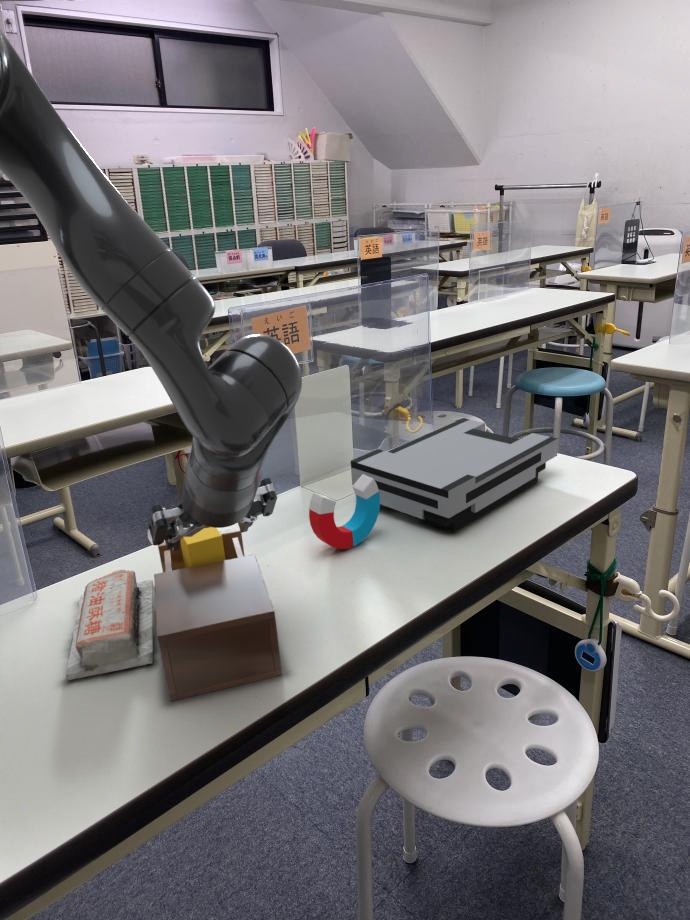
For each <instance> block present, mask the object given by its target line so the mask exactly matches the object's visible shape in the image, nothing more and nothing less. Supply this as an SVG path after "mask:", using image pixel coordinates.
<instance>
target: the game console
mask: <svg viewBox="0 0 690 920" xmlns="http://www.w3.org/2000/svg"><path fill="white" fill-rule="evenodd" d="M558 445H559V438H557V437H553V436H548V435H544V434H539V433H535V432H532V433H529V434H527V435H525V436H524V437H522V438H517V437H512V436H507V435H503V434H499V433H494V432H489V431H486V422H483V421H478V420H474V419H470V418H465V417H463V418H460V419H458V420H456V421H453V422H451V423H449V424H446V425H445V426H443V427H440V428H438V429H436V430H433V431H431V432H429V433H426V434H424V435H422V436H419V437H417V438H415V439H413V440H410V441H408V442H405V443H404V444H400V445H399V446H396V447H393V448H391V449H390V450H387V451H386V450H382V449H379V448H377V449H375V450H372V451H370V452H368V453H365V454H363V455H361V456H359V457H356V458H353V459H351V460H350V473H351V475H350V476H351V486H353V485H354V484H355V483H356V481H357V480H358V479H359V478H360V477H361V475H362V474H364V475H366V476H368V477H371V478H373V479H374V480H375V482H376V484H377V487H378V490H379V495H380V508H384V509H386V510H389V511H393V510H396V511H398V512H400V513H403V514H407V515H409V516H412V517H414V518H418V519H421V520H423V521H424V523H425V524H429V525H431V526H434V527H436V528H439V529H443V530H445V531H448V532H450V533H453V534H454V533H456V532H457V531H459V530H461V529H463V528H464V527H466V526H468V525H470V524H471V523H472V522H475V521H476V520H478V519H479V518H481V517H483V516H484V515H486V514H487V513H489V512H491V511H493V510H494V509H496V508H497V507H499V506H501V505H503V504H504V503H506V502H508V501H509V500H510V499H512V498H514V497H516V496H517V495H519V494H521V493H522V492H524V491H526V490H527V489H529V488H530V487H532V486H534V485H535V484H537V483H538V482H539V473H541V472H542V471H544V470H545V469H546V467H547V462H549V461H550V460H552V459H554V458H556V457H557V456H558Z"/></svg>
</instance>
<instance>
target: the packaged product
mask: <svg viewBox="0 0 690 920" xmlns="http://www.w3.org/2000/svg"><path fill="white" fill-rule="evenodd" d="M155 617H156V611H155V584H154V579H148V580H143V581H140V582H137V577H136V572H135V571H134V570H126V569H119V570H115V571H112V572H111V573H108V574H106V575H104V576H101V577H99V578H96V579H94V580H91V581H89V582H88V583H87V584H86V586H85V587H84V591H83V594H80V599H79V602H78V608H77V615H76V619H75V624H74V629H73V634H72V639H73V640H72V641H71V645H70V649H69V650H70V651H69V657H68V662H67V667H66V671H65V679H67V680H68V681H71V680H76V679H82V678H86V677H91V676H96V675H101V674H107V673H111V672H117V671H122V670H126V669H127V670H128V669H131V668H137V667H140V666H146V665H150V664H153V658H154V637H155V636H154V635H155V624H156V623H155V619H156V618H155Z"/></svg>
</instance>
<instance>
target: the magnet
mask: <svg viewBox="0 0 690 920" xmlns="http://www.w3.org/2000/svg"><path fill="white" fill-rule="evenodd" d="M351 487H352V490H353V492H354V494H355V503H356V504H355V508H354V511H353V513H352V516H351V518H349V520H348V521H346V522H345V523H344V524H343V525H340V526H337V525H336V522H335V509H336V504H337V501H336V500H335V499H332V498H330V497H329V496H327V495H323V494H320V493H318V492H312V495H311V498H310V501H309V508H308V519H309V525H310V527H311V530H312V532H313V534H314V535H315V537H316V538H317V539H318V540H319V541H321V542H322V543H324V544H326V545H328V546H330V547H331V548H334V549H337V550H347V549H351V548H354V547H356V546H357V545H360V544H361V543H362V542H363V541H364V540H365V539H367V537H368V536H369V535H370V534H371V532H372V531H373V529H374V527H375V525H376V523H377V521H378V517H379V514H380V509H381V506H380V495H379V490H378V487H377V484H376V482H375V480H374V479H373V478H371V477H368V476H366V475H364V474H362V475H361V477H360V478H359V479H358V480H357V481H356V483H355V484H354V485H351Z"/></svg>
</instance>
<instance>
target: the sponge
mask: <svg viewBox="0 0 690 920" xmlns="http://www.w3.org/2000/svg"><path fill="white" fill-rule="evenodd" d="M177 530H179V528H177ZM219 531H220V530H218V528H214V527H209V528H204V529H202V530H201V531H199V532H198V533H196V534H195V535H193V536H192V537H183V538H182V539H180V540H181V548H182V554H183V560H184V565H185V568H188V567H194V566H199V565H204V564H209V563H214V562H219V561H224V560H225V553H224V547H223V540H222V535H221V534H220V532H219Z"/></svg>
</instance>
